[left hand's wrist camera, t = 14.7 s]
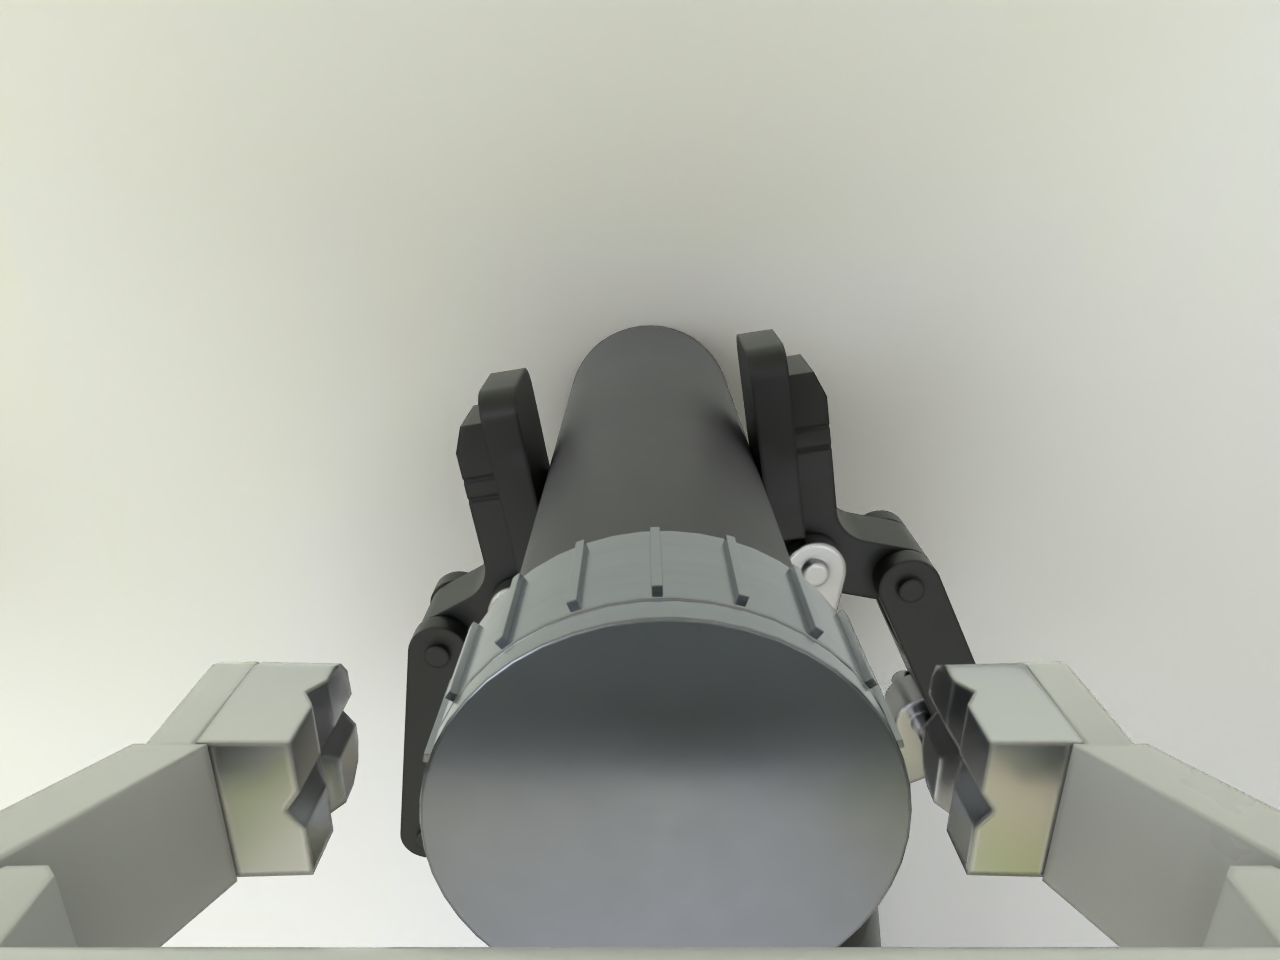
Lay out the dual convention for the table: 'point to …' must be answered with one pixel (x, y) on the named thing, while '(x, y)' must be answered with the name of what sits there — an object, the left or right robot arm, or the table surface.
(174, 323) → the table surface
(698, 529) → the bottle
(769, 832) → the lid
